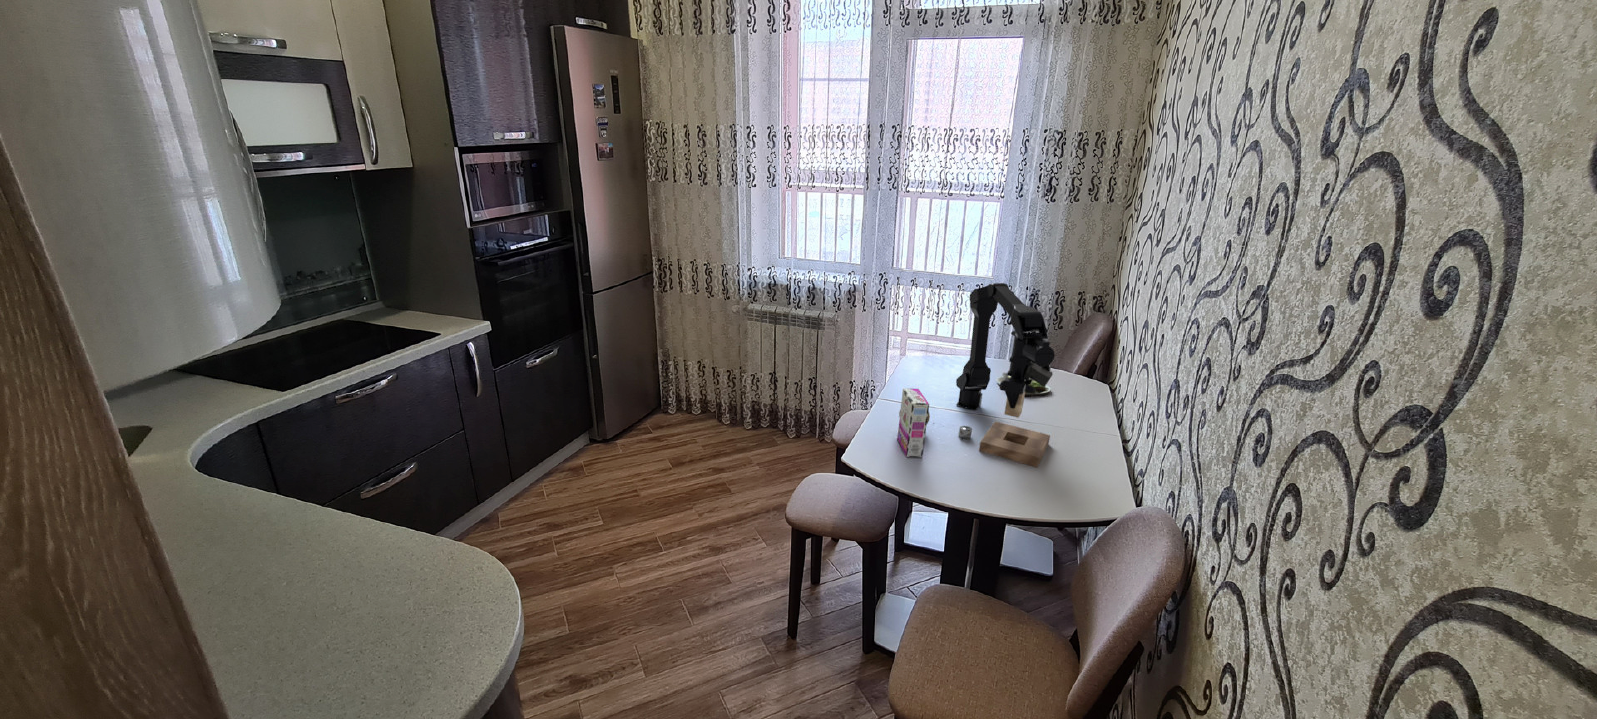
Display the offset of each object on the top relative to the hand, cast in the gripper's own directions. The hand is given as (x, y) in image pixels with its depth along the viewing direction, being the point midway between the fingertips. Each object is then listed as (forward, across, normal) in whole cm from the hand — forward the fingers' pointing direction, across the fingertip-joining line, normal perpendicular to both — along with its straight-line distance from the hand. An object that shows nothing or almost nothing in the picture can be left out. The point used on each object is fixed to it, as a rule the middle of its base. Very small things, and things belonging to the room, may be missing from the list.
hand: (1014, 405), depth 177 cm
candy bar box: (+12, -21, +23) cm, 33 cm away
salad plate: (+11, +46, +6) cm, 47 cm away
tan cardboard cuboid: (+2, 0, 0) cm, 2 cm away
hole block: (+12, -3, -2) cm, 12 cm away
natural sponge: (+12, -11, +26) cm, 30 cm away
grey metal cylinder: (+12, -5, +12) cm, 17 cm away
